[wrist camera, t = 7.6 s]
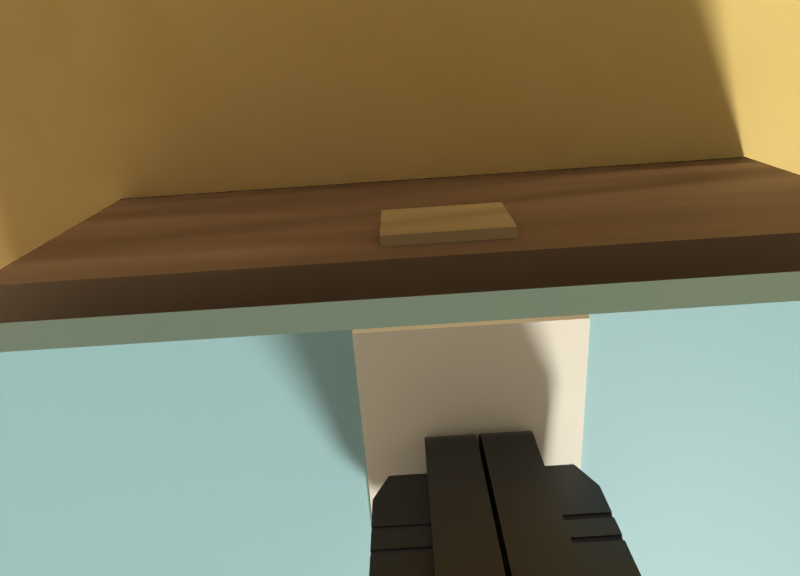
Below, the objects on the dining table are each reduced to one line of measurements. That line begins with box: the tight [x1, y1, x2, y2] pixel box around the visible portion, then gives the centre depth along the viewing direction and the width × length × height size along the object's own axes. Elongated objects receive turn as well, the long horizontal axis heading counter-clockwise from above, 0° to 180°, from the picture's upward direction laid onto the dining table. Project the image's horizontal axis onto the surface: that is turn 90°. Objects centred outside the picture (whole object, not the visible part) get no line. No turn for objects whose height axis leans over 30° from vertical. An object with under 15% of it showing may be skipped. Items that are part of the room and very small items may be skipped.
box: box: [0, 157, 800, 323], centre depth 17 cm, size 13×16×7 cm
